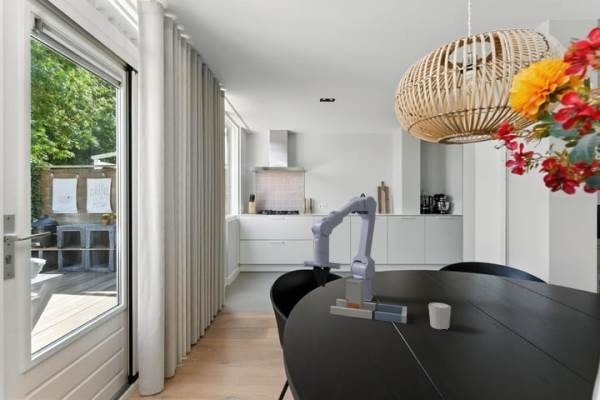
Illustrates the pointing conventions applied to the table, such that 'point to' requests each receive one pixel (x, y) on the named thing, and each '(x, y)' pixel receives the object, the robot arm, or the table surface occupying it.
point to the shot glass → (439, 315)
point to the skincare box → (355, 294)
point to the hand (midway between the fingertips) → (321, 286)
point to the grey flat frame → (393, 311)
